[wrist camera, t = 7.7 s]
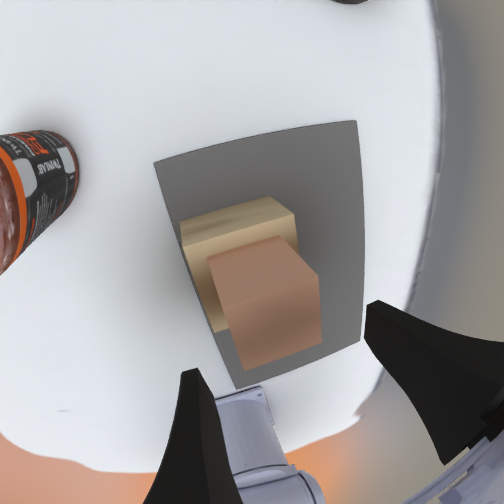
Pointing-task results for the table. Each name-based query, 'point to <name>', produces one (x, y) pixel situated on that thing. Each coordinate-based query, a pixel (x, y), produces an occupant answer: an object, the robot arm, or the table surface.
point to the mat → (305, 214)
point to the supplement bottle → (32, 188)
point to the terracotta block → (267, 300)
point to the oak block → (231, 242)
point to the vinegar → (352, 1)
